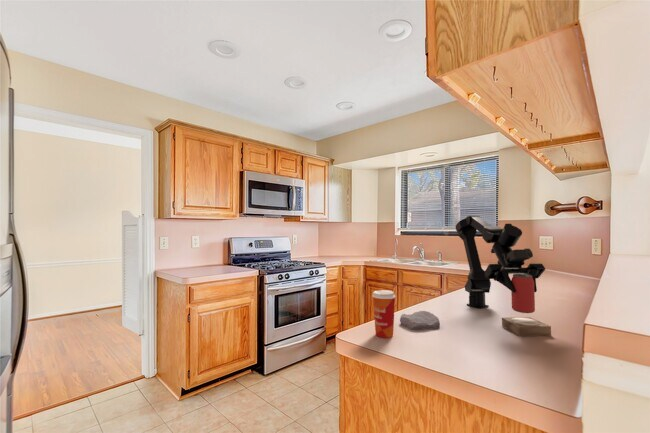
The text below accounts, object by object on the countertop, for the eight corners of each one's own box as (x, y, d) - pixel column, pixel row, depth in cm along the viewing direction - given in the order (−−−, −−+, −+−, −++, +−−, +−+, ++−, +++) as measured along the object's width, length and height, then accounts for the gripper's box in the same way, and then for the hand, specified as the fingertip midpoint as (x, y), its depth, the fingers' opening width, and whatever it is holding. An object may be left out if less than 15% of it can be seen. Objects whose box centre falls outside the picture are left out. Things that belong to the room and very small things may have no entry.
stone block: (442, 332, 109) (425, 319, 118) (444, 320, 108) (426, 307, 118) (414, 338, 105) (398, 323, 115) (415, 325, 104) (398, 311, 114)
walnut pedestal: (502, 326, 109) (501, 317, 109) (530, 325, 109) (530, 316, 110) (520, 336, 99) (519, 326, 99) (551, 335, 99) (550, 325, 100)
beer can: (521, 314, 101) (520, 277, 101) (507, 308, 108) (506, 274, 108) (540, 313, 102) (539, 276, 102) (524, 307, 108) (523, 273, 109)
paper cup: (368, 333, 104) (367, 290, 104) (387, 329, 107) (387, 289, 107) (380, 340, 97) (380, 295, 97) (401, 337, 100) (400, 293, 100)
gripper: (487, 240, 109) (506, 278, 98) (541, 240, 109) (566, 277, 98) (477, 260, 117) (493, 297, 106) (527, 260, 117) (548, 296, 106)
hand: (525, 291), depth 104 cm, fingers closed on beer can, 6 cm apart
